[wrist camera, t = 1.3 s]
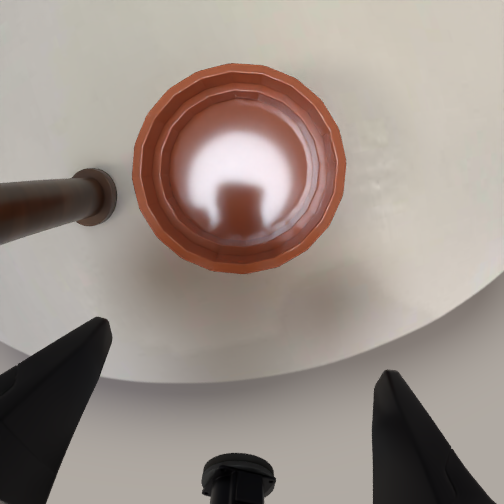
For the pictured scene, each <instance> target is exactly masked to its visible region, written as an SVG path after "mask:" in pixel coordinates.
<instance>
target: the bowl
mask: <svg viewBox="0 0 504 504" xmlns="http://www.w3.org/2000/svg"><path fill="white" fill-rule="evenodd" d="M345 172H346V157H345V153H344V148H343V144H342V139H341V135H340V131H339V128H338V126H337V125H336V123H335V121H334V120H333V118H332V116H331V115H330V113H329V111H328V110H327V108H326V106H325V105H324V103H323V102H322V101H321V99H320V98H318V97H317V96H316V95H315V94H314V93H313V92H312V91H310V90H309V89H308V88H307V87H306V86H304V85H303V84H302V83H301V82H300V81H298V80H297V79H295V78H294V77H291V76H289V75H287V74H284V73H282V72H279V71H277V70H274V69H272V68H269V67H267V66H263V65H251V64H235V63H231V64H225V65H221V66H217V67H213V68H209V69H205V70H201V71H198V72H196V73H194V74H192V75H191V76H189V77H187V78H186V79H184V80H182V81H181V82H179V83H177V84H176V85H174V86H173V87H171V88H170V89H169V90H168V91H167V92H166V93H165V94H164V95H163V96H162V97H161V99H160V100H159V101H158V102H157V103H156V104H155V106H154V107H153V108H152V109H151V110H150V112H149V113H148V115H147V116H146V118H145V121H144V123H143V125H142V128H141V130H140V133H139V135H138V138H137V140H136V143H135V146H134V157H133V170H132V180H133V185H134V189H135V193H136V197H137V201H138V205H139V209H140V211H141V212H142V214H143V216H144V217H145V219H146V221H147V222H148V224H149V226H150V227H151V229H152V230H153V232H154V234H155V235H156V236H157V238H158V239H159V240H161V241H162V242H163V243H164V244H165V245H166V246H168V247H169V248H170V249H171V250H172V251H173V252H175V253H176V254H177V255H178V256H179V257H181V258H182V259H184V260H186V261H189V262H191V263H194V264H196V265H198V266H201V267H203V268H206V269H208V270H210V271H214V272H225V273H236V274H249V273H253V272H258V271H263V270H267V269H272V268H276V267H279V266H281V265H282V264H284V263H286V262H288V261H289V260H291V259H293V258H295V257H296V256H298V255H300V254H301V253H303V252H305V251H306V250H308V249H309V248H310V247H311V245H312V244H313V243H314V242H315V241H316V240H317V239H318V238H319V237H320V235H321V234H322V233H323V232H324V231H325V230H326V229H327V228H328V227H329V225H330V223H331V221H332V219H333V217H334V214H335V212H336V210H337V208H338V205H339V203H340V201H341V199H342V196H343V191H344V182H345Z"/></svg>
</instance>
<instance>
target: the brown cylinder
mask: <svg viewBox="0 0 504 504" xmlns="http://www.w3.org/2000/svg"><path fill="white" fill-rule="evenodd" d="M116 199H117V194H116V188H115V185H114V183H113V181H112V179H111V178H110V176H109V175H108V174H107V173H105V172H104V171H102V170H99V169H83V170H81V171H79V172H77V173H76V174H75V175H74V176H73V177H72V178H70V179H51V180H35V181H22V182H10V183H0V245H2V244H5V243H8V242H11V241H14V240H17V239H20V238H23V237H26V236H29V235H32V234H35V233H38V232H42V231H45V230H48V229H51V228H55V227H58V226H61V225H65V224H68V223H71V222H75V221H76V222H77V223H79V224H81V225H84V226H94V225H97V224H100V223H102V222H104V221H105V220H107V219H108V218H109V217H110V215H111V214H112V212H113V210H114V208H115V205H116Z"/></svg>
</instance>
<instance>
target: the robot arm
mask: <svg viewBox="0 0 504 504" xmlns="http://www.w3.org/2000/svg"><path fill="white" fill-rule="evenodd" d="M111 343H112V333H111V329H110V325H109V321H108V320H107V319H105V318H101V317H95V318H93V319H91V320H90V321H88V322H86V323H85V324H83V325H81V326H80V327H78V328H76V329H75V330H73V331H71V332H70V333H68V334H66V335H65V336H63V337H61V338H60V339H58V340H56V341H55V342H53V343H52V344H50V345H48V346H47V347H45V348H43V349H42V350H40V351H38V352H37V353H35V354H34V355H32V356H30V357H29V358H27V359H26V360H24V361H22V362H21V363H19V364H18V365H17V366H14V367H13V368H11V369H9V370H8V371H6V372H4V373H3V374H1V375H0V504H46V502H47V499H48V497H49V494H50V491H51V489H52V486H53V483H54V481H55V478H56V475H57V473H58V470H59V468H60V465H61V463H62V460H63V457H64V456H65V453H66V450H67V448H68V446H69V444H70V441H71V439H72V437H73V434H74V432H75V430H76V427H77V425H78V423H79V421H80V418H81V416H82V414H83V412H84V410H85V407H86V405H87V403H88V401H89V398H90V396H91V394H92V392H93V390H94V388H95V386H96V384H97V381H98V379H99V377H100V374H101V371H102V368H103V365H104V363H105V360H106V357H107V354H108V352H109V349H110V346H111ZM372 451H373V504H496V503H495V502H494V501H493V500H492V499H491V498H490V497H489V496H488V495H487V494H486V492H485V491H484V490H483V489H482V487H481V486H480V485H479V484H478V483H477V481H476V480H475V479H474V478H473V477H472V475H471V474H470V473H469V471H468V470H467V469H466V468H465V466H464V465H463V463H462V462H461V461H460V459H459V458H458V457H457V455H456V453H455V452H454V450H453V449H451V446H450V445H449V443H448V442H447V440H446V439H445V437H444V436H443V434H442V433H441V432H440V430H439V429H438V427H437V426H436V424H435V423H434V421H433V420H432V418H431V417H430V416H429V414H428V413H427V411H426V410H425V409H424V407H423V406H422V404H421V403H420V401H419V400H418V399H417V397H416V396H415V394H414V393H413V392H412V390H411V389H410V387H409V386H408V385H407V383H406V382H405V380H404V379H403V378H402V377H401V375H400V374H399V372H398V371H396V370H385V371H384V372H383V373H382V375H381V377H380V379H379V380H378V381H377V383H376V385H375V388H374V403H373V421H372ZM275 482H276V478H275V477H272V476H267V475H262V474H258V473H254V472H249V471H245V470H241V469H237V468H234V467H230V466H226V465H219V466H218V468H217V469H216V471H215V472H214V474H213V475H212V477H211V478H210V480H209V481H208V483H207V484H206V486H205V487H204V488H203V490H202V494H204V495H206V496H210V497H211V499H210V504H264V495H265V494H266V492H267V491H268V490H269V489H270V488H271V487H272V486H273V485H274V484H275Z"/></svg>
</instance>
